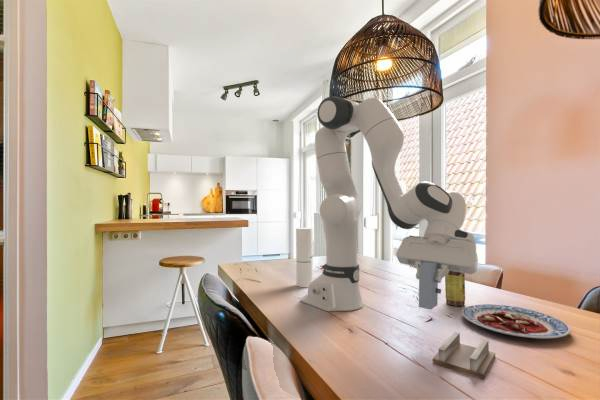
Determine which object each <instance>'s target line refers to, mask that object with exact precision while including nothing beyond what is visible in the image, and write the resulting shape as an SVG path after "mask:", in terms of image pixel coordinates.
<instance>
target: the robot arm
mask: <svg viewBox="0 0 600 400" xmlns="http://www.w3.org/2000/svg"><path fill="white" fill-rule="evenodd" d="M316 116H317V120H318V121H319V123H320V124H321V125H322V127H320V128H319V129H318V130H317V131H316V132H315V136H314V146H315V147H314V148H315V157H316V163H317V169H318V174H319V180H320V183H321V185H322V186H323V189H324V192H325V194H326V198H324V199H323V200H322V201H321V203H320V206H319V214H320V218H321V220H322V226H323V231H324V236H325V238H324V239H325V244H326V247H325V248H326V249H325V250H326V252H325V253H326V259H325V261H326V263H324V264H323V265H320V266H319V267H320V268H319V269H320V270H322V273H321V275H319V276H318V277H316V278H315V279H313V281H312V282H311V283H310V285H309V287H308V288H307V294H304V295H303V296H302V297H301V302H302V303H306V304H308V305H310V306H313V307H315V308H318V309H320V310H323V311H325V312H335V311H340V312H341V311H342V312H344V311H348V312H349V311H353V310H354V311H355V310H358V309H361V308H362V307H363V306H364V303H363V300H362V295H361V289H360V264H359V261H358V260H359V252H358V251H359V249H358V248H359V246H358V244H359V242H358V240H357V235H356V226H355V222H356V221H357V219H358V218H359V217H360V215H361V211H362V210H361V205H360V201H359V200H360V199H359V197H358V194H357V190H356V187H355V184H354V183H355V182H354V180H353V177H352V172H351V169H350V162H349V157H348V156H349V155H348V153H347V148H346V147H347V146H346V140H347V138H349V139H350V138H353V137H354V136H355V135H357V134H358V133H361V134H362V135H363V137H364V140H365V141H366V143H367V145H368V148H369V152H370V155H371V156H370V157H371V165H372V166H371V167H372V170H373V172H374V175H375V178H376V181H377V183H378V185H379V187H380V188H379V189H380V190H381V192H382V194H383V198H384V200H385V203H386V206H387V212H388V216H389V218H390V220H391V222H392V223H393V224H394V225H395V226H397V227H398V228H400V229H403V230H412V229H414V228H415V227H416V226H417V225H419V224H420V223H421V222H422V221H425V220H426V221H427V226H426V229H425V232H424V234H423V236H420V235H417V236H416V235H408V236H405V237H403V239H402V241H401V244H400V246H399V247H398V249H397V250H396V253H395V255H396V258H397V260H398V262H399V263H400V264H401V265H402V264H403V265H409V266H415V269H416V274H415V278H416V279H417V280H419V264H421V263H423V262H432V263H438V270H440V271H438V273H435V274H434V277H433V280H434V282H437V283H438V284H441V283H442V281H443V278H445V276H446V275H447V274H448V273H449V271H454V272H461V273H464V274H469V275H473V274H474V273H476V272H477V271H478V264H479V263H478V262H479V261H478V259H479V258H478V254H477V242H476V239H475V237H474V235H473V233H471V232H468V231H465V230H463V229H461V228H462V227H463V226H464V222H465V218H466V213H467V205H466V200H465V198H464V196H463V195H462V194H461V193H459V192H457V191H454V190H444V189H443V188H442V187H440V186H439V185H438V184H435V183H433V182H430V181H420V182H418V183H416V184H415V185H414V186H413V187H412V188H410V189H409V190H408V191H407V192H406V193H404V192H403V190H402V188H401V185H400V182H399V181H398V178H397V175H396V171H395V167H396V162H397V159H398V157H399V155H400V152H401V151H402V148H403V146H404V143H405V142H404V141H405V135H404V131H403V129H402V127H401V125H400V123H399V122H398V120H397V119H396V117H395V116H394V114H393V113H392V111H391V110H390V109H389V108H388V107H387V105H386V104H385V103H384V102H383V101H382V100H381V99H380V98H377V97H369V98H366V99H364V100H363V101H361V102H360V103H359V102H357V101H355V100H353V99H349V98H344V97H342V96H328V97H326V98H324V99H323V100H321V102H320V103H319V105H318V108H317V115H316Z"/></svg>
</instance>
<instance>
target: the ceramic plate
mask: <svg viewBox="0 0 600 400" xmlns="http://www.w3.org/2000/svg"><path fill="white" fill-rule="evenodd" d="M461 314H462V316H463V317H464V318H465V320H467V321H469V322H470V323H472V324H474V325H476V326H479V327H481V328H484V329H487V330H489V331H493V332H496V333H500V334H502V335H507V336H512V337H519V338H525V339H526V338H529V339H542V340H543V339H545V340H546V339H557V338H562V337H566V336H568V335H570V333H571V328H570V326H569V325H568V324H567V323H566V322H564V321H562V320H560V319H559V318H556V317H554V316H553V315H549V314H546V313H542V312H540V311H537V310H532V309H527V308H524V307H518V306H511V305H506V304H505V305H503V304H489V303H488V304H483V303H482V304H475V305H469V306H466V307H464V308H463V309H462V310H461Z"/></svg>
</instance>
